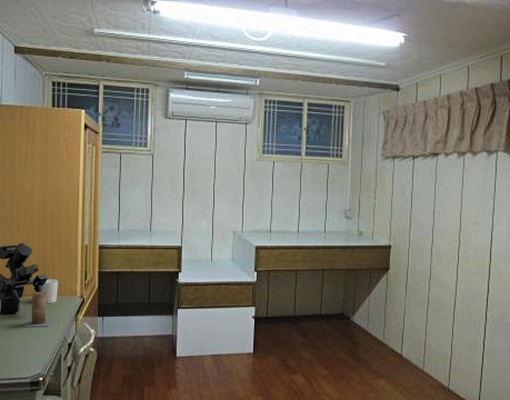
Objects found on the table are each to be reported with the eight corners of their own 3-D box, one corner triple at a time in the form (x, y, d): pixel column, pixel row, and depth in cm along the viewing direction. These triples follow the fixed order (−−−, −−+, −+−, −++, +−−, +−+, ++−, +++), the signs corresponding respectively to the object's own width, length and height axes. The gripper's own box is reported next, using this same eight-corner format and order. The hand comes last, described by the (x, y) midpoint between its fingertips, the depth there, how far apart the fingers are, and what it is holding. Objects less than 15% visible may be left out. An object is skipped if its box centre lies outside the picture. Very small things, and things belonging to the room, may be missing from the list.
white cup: (39, 300, 224) (40, 279, 224) (57, 299, 228) (57, 278, 227) (39, 304, 217) (40, 283, 217) (57, 303, 221) (58, 282, 220)
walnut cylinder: (28, 323, 188) (29, 293, 187) (38, 319, 192) (39, 291, 192) (38, 325, 186) (39, 295, 185) (47, 321, 191) (48, 292, 190)
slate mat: (23, 327, 184) (23, 326, 184) (29, 320, 193) (29, 319, 193) (47, 326, 186) (47, 325, 185) (52, 320, 194) (52, 319, 194)
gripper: (2, 260, 187) (15, 292, 181) (46, 256, 203) (59, 285, 197) (-8, 277, 192) (4, 308, 186) (35, 271, 207) (48, 300, 201)
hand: (30, 300), depth 193 cm, fingers open, 9 cm apart
